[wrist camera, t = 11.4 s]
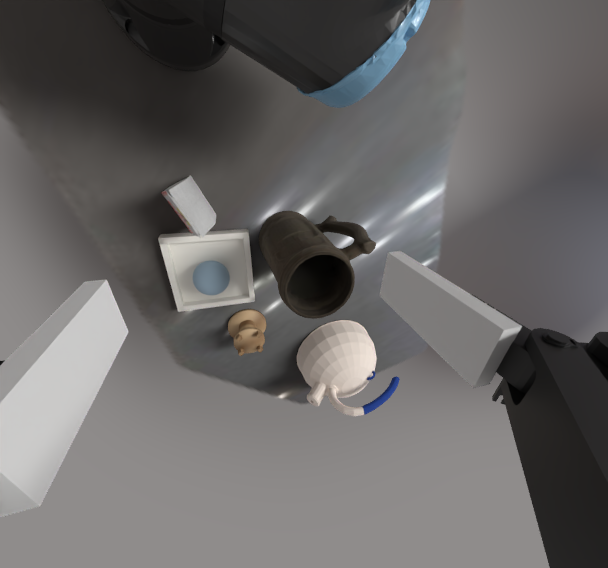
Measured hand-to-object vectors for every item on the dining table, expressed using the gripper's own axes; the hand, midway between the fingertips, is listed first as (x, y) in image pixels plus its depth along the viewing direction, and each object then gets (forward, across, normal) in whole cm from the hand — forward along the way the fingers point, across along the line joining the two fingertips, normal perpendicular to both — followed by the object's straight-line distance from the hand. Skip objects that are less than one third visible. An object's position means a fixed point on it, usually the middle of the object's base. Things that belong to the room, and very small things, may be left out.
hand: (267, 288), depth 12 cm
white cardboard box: (+34, -7, -2) cm, 35 cm away
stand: (+34, -1, -28) cm, 44 cm away
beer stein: (+34, +10, -8) cm, 37 cm away
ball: (+33, -6, -14) cm, 36 cm away
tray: (+34, -6, -14) cm, 37 cm away
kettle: (+34, +20, -41) cm, 57 cm away
